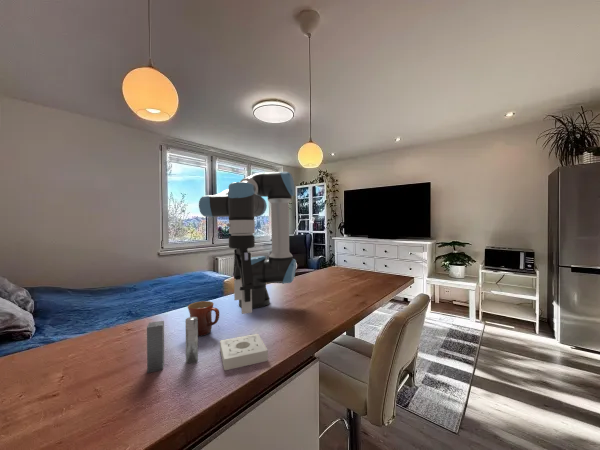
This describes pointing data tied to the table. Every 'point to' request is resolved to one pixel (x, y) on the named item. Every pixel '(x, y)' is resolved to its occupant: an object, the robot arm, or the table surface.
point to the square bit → (155, 346)
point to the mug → (203, 316)
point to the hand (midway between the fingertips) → (242, 305)
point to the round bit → (191, 340)
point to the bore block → (243, 351)
